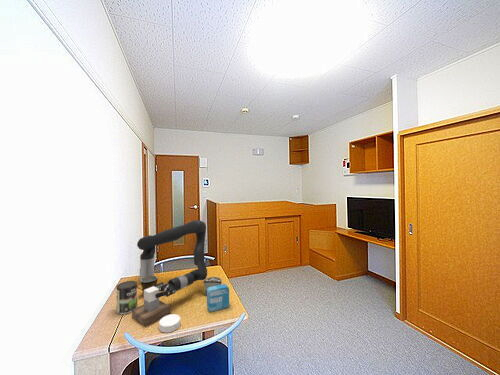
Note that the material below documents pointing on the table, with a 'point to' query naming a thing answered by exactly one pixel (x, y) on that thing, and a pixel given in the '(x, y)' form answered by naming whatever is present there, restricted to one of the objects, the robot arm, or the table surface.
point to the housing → (151, 299)
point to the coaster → (169, 323)
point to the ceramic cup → (148, 282)
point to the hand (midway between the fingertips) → (151, 294)
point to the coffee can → (126, 297)
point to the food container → (211, 283)
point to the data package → (217, 297)
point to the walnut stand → (150, 314)
